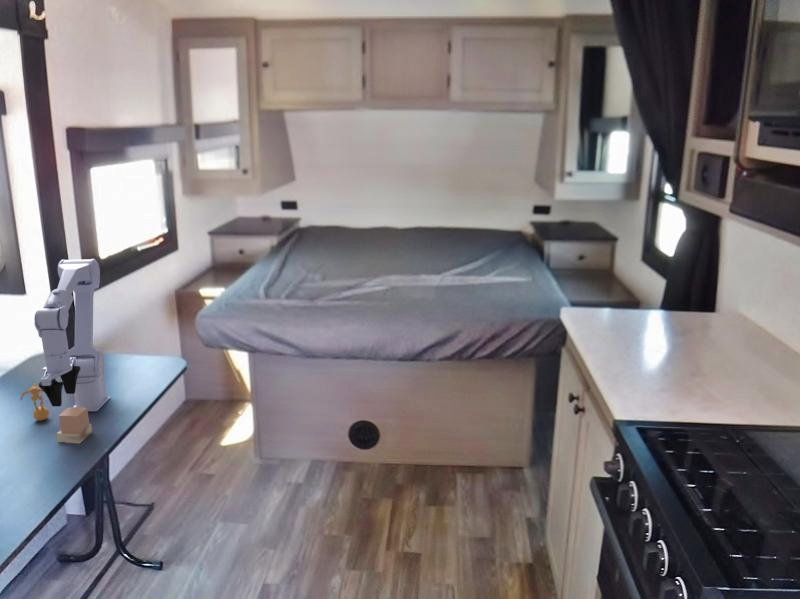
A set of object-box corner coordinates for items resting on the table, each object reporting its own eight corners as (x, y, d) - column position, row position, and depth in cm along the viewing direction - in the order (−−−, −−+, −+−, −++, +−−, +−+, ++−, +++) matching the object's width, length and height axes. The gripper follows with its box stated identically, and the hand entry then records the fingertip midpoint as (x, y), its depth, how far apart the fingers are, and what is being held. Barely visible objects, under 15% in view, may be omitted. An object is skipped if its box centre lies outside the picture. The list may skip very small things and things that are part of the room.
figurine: (59, 414, 183) (53, 376, 179) (55, 424, 177) (49, 384, 174) (27, 418, 180) (20, 380, 177) (22, 428, 175) (15, 388, 171)
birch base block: (71, 432, 174) (70, 422, 173) (92, 433, 173) (91, 423, 172) (58, 443, 168) (56, 433, 167) (79, 444, 167) (78, 434, 166)
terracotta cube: (71, 423, 172) (68, 407, 171) (89, 424, 172) (87, 407, 170) (61, 432, 167) (58, 415, 166) (80, 433, 167) (77, 416, 166)
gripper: (54, 342, 172) (62, 388, 176) (25, 362, 158) (34, 411, 162) (81, 342, 172) (87, 388, 176) (54, 362, 158) (62, 411, 162)
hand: (63, 399), depth 169 cm, fingers open, 7 cm apart
